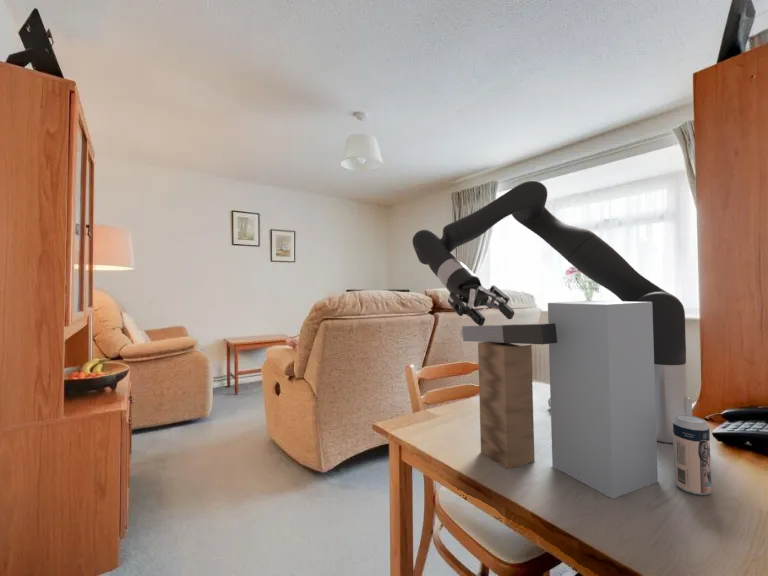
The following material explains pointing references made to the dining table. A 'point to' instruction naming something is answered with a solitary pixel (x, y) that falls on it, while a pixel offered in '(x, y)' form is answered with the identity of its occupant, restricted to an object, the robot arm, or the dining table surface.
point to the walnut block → (506, 402)
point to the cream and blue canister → (692, 454)
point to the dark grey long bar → (511, 333)
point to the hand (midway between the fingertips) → (497, 319)
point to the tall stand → (604, 394)
